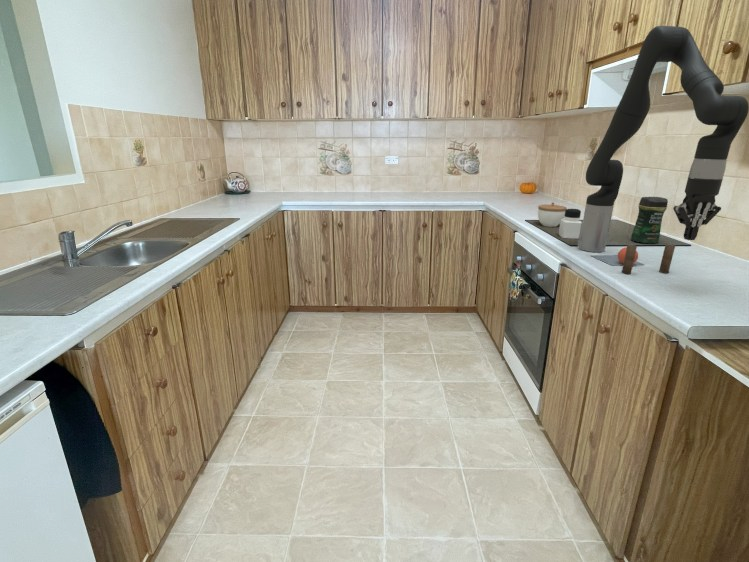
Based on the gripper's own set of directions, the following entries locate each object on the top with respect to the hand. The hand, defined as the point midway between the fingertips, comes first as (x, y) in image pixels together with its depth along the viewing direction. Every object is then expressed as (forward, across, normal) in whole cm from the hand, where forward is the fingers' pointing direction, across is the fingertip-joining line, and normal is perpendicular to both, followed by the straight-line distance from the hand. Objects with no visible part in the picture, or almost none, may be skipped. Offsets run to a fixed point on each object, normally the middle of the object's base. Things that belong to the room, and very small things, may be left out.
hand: (689, 239), depth 120 cm
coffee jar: (+14, -30, -52) cm, 62 cm away
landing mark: (+14, 0, -27) cm, 30 cm away
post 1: (+14, +6, -13) cm, 20 cm away
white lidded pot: (+14, -7, -87) cm, 88 cm away
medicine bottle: (+14, -3, -63) cm, 65 cm away
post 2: (+14, -6, -13) cm, 20 cm away
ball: (+11, 0, -22) cm, 25 cm away
